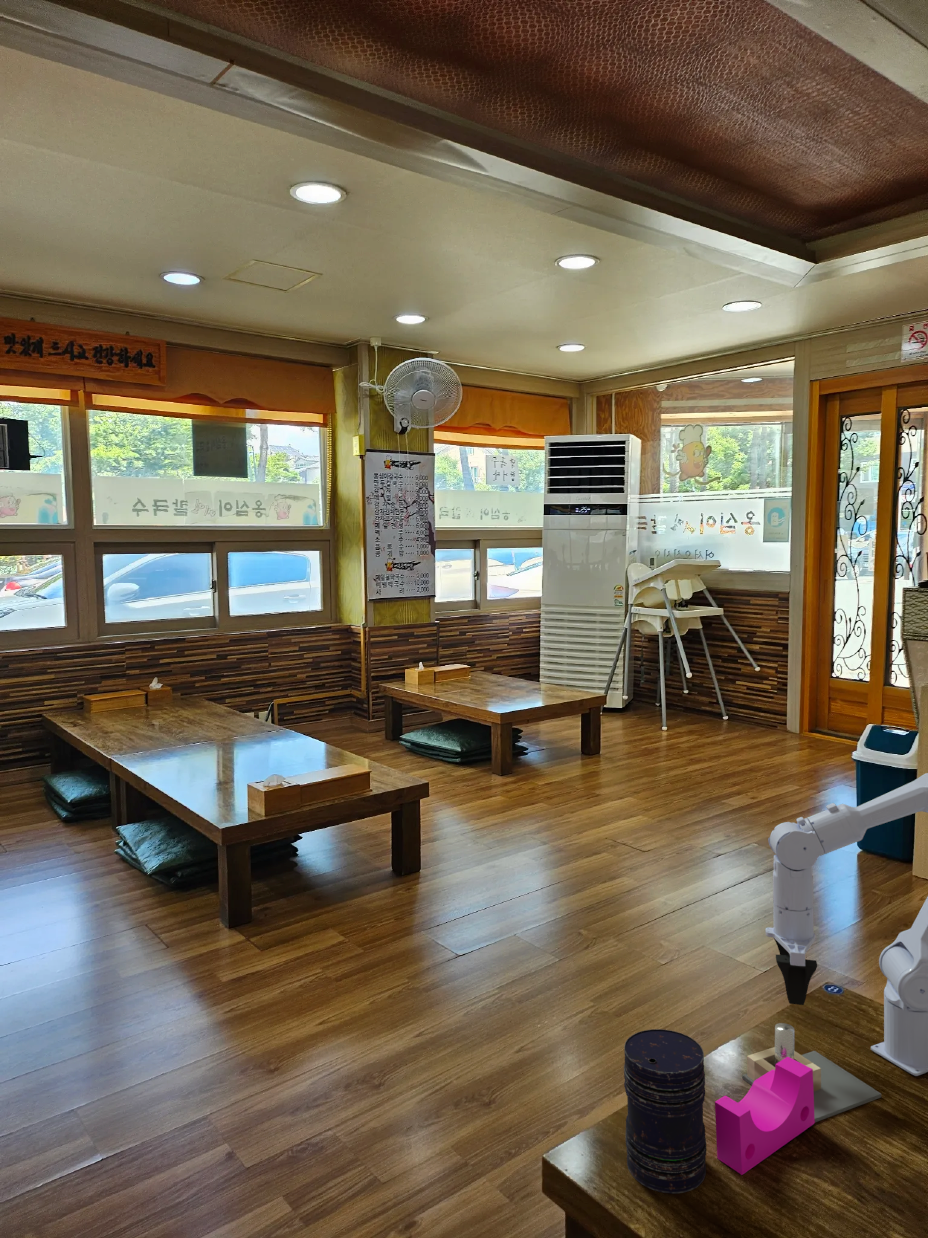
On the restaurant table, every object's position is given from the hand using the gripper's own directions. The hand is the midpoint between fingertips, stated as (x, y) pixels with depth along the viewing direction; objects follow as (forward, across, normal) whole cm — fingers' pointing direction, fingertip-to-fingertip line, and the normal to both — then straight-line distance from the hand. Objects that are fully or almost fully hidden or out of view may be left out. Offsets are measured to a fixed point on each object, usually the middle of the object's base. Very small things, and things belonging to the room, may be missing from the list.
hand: (794, 991), depth 131 cm
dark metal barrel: (+10, +30, -18) cm, 36 cm away
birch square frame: (+9, +10, -2) cm, 13 cm away
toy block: (+9, +22, -6) cm, 25 cm away
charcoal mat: (+9, +9, +1) cm, 13 cm away
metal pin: (+9, +10, -2) cm, 13 cm away
